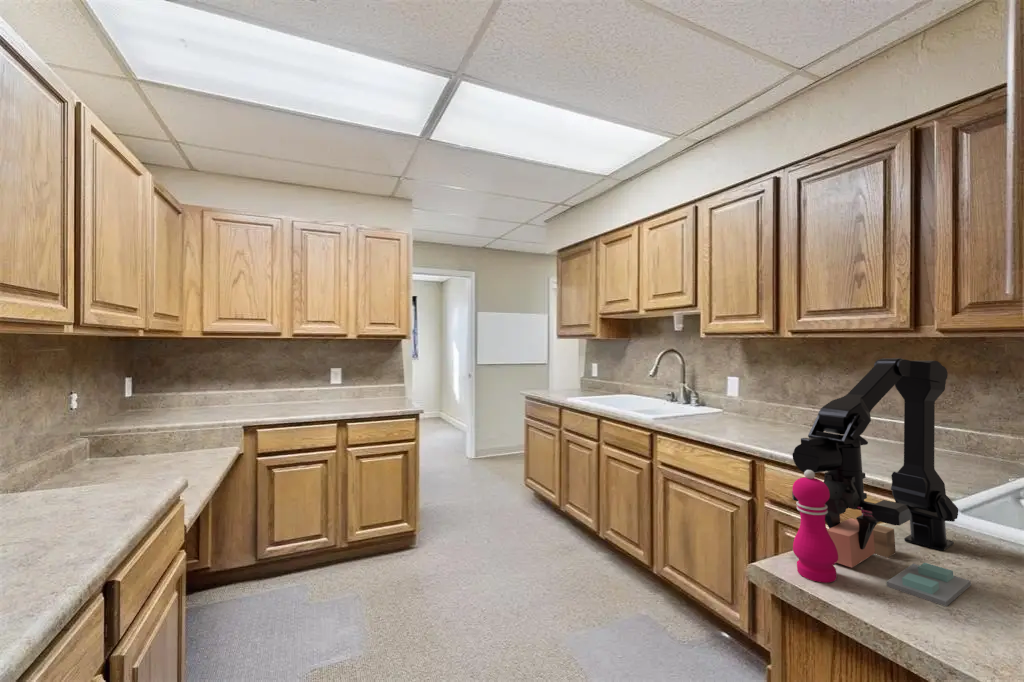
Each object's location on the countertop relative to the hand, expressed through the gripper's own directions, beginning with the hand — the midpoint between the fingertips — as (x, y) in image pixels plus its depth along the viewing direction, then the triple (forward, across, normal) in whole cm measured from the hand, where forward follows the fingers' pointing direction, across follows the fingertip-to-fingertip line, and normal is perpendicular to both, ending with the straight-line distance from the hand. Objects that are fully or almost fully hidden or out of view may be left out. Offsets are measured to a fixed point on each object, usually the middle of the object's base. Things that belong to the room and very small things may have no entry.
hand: (849, 545), depth 90 cm
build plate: (+3, +12, 0) cm, 12 cm away
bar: (+2, 0, +1) cm, 3 cm away
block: (+3, +2, +9) cm, 10 cm away
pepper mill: (+3, -1, -11) cm, 12 cm away
